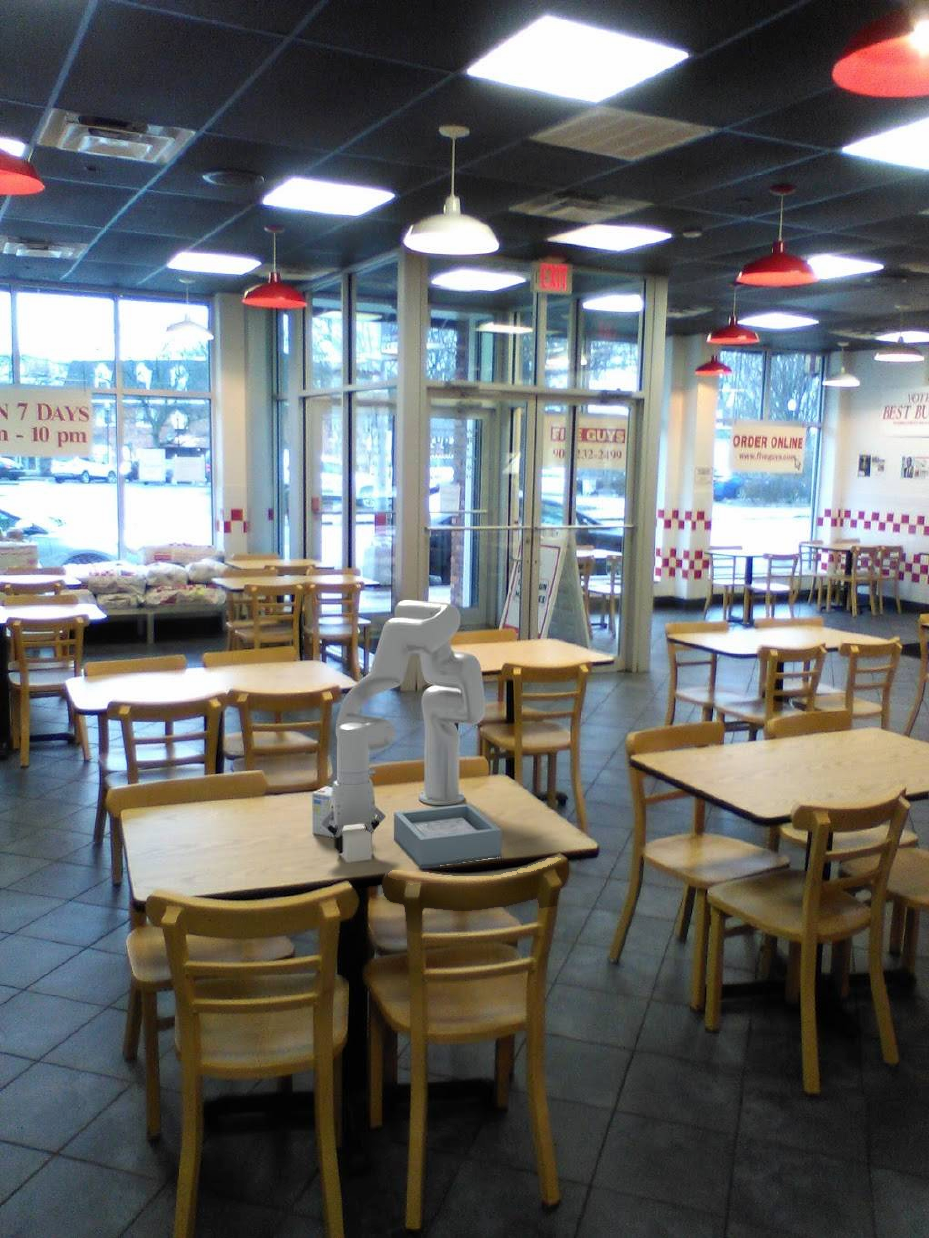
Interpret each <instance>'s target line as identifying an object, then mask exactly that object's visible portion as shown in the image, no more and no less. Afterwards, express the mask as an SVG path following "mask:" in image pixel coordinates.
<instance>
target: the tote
mask: <svg viewBox="0 0 929 1238" xmlns="http://www.w3.org/2000/svg"><path fill="white" fill-rule="evenodd" d="M461 817H462V818H463V819H464V820H466V821H467V822H468V823H469V824H470V825H471V826H472V827H474V828H475V829H476V830H477V831H469V832H461V833H452V834H444V835H436V836H428V837H425V836H424V835H423V834H422V833H421V832H420V831H419V830H418V829H417V828H416V827H415V826H414V825H413V824H412V823H418V822H426V821H435V820H443V819H452V818H461ZM393 840H394V841H395V843H396V844H397V845H398V846H399V847H400V848H401V850H402V851H403V852H405V854H406V855H407V856H408V857H409V858H410V859H411V860H412V861H413V862H414V863H415V865H416V866H417V867H418V869H420V870H424V869H423V868H425V869H431V867H432V868H437V867H436V866H440V865H447V864H449V865H447V866H451V865H450V864H455V865H459V864H458V863H463V862H469V861H476V860H482V859H488V858H497V857H498V858H499V857H501V858H502V829H501V828H500V827H499V826H497V825H496V824H495V823H494V822H493V821H491V820H490V819H489V818H488V817H487V816H486V815H484V814H483V813H482V812H480V811H479V810H478V809H477V808H475V807H474V806H473V805H472V804H471V803H466V804H456V805H455V804H454V805H445V806H440V807H431V808H429V807H428V808H421V809H410V810H403V811H402V810H401V811H394V812H393ZM463 864H464V863H463ZM440 867H441V866H440Z"/></svg>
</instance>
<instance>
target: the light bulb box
mask: <svg viewBox="0 0 929 1238" xmlns="http://www.w3.org/2000/svg"><path fill="white" fill-rule="evenodd" d="M332 788H333V786H332V787H331V786H328V785H325V786H323V787H321V788H320V789H317V790H316V791H315V790H314V791H313V792H312V793H311V797H312V799H311V800H312V807H311V809H312V810H311V811H312V834H313V835H314V834H316V835H320V836H325V837H330V838H334V835H333V834H332V833H331V832H330V831H329V830H328V829H327V828H325V827H324V826H323V825H322V824H321V820H322V819H323V818H324V817H325V815H326V814H327V813H328V812H329V811H330V805H331V794H332ZM329 824H331V825H332V826H333V827H334V826H335V823H334V820H330V821H329Z"/></svg>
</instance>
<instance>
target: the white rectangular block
mask: <svg viewBox="0 0 929 1238" xmlns="http://www.w3.org/2000/svg"><path fill="white" fill-rule="evenodd" d="M341 836H342V853H340V854H339V852H338V851H337V850H336V849H335V848H334V850H335V851H336V852H337V853H338V854H339V855H340V857H341V858H342V859H343V860H344V862H346V863H353V862H361V861H368V860H372V856H373V855H372V851H373V850H372V845H373V833H372V834H371V833H370V832H369V831H368V830H367V829H366V827H365V825H363V824H355V825H346V826H344V827H343V830H342V832H341Z"/></svg>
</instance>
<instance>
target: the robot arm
mask: <svg viewBox="0 0 929 1238" xmlns="http://www.w3.org/2000/svg"><path fill="white" fill-rule="evenodd" d="M460 625H461V613H460V611H459V608H457V606H456V605H454V604H452V603H448V602H437V601H426V600H416V599H405V600H401V601H399V602H398V603H397V604H396V606H395V609H394V617H393V618H390V619H388V620H387V621H386V622H385V623H384V625H383V627H382V631H381V633H380V638H379V640H378V644H377V646H376V647H377V648H376V650H375V654H374V657H373V660H372V663H371V667H370V670H369V672H368V673H367V674H366V675H365V676H364V677H362V679H360V680H359V681H358V682H357V683H355V685H354V686H353V687H351V689H350V690H349V691H348V693H347V694H346V695H345V697H344V698H343V700H342V702H341V705H340V710H339V713H338V715H337V718H336V724H335V736H336V780H334V781H333V784H332V787H333V788H332V794H331V805H330V811H329V812H328V813H327V814H326V815H325V817H324V818H323V819H322V820H321V824H322V825H323V826H324V827H325V828H327V829H328V830H329V831H330V832H331V833H332V834H333V835H334V837H333V838H334V839H333V842H334V843H333V848H334V850H335V849H336V850H337V851H338V852H339V853H338V852H337V851H336V850H335V851H336V852H337V853H338V854H339V855H340V853H342V836H341V832H342V830H343V827H344V826H346V825H355V824H361V825H363V826H364V827H365V828H366V829H367V830H368V831H369V832H370V833H371V834H372V835H373V833H374V832H375V830H376V829H377V828H378V827H379V825H380V824H381V823H382V822H383V820H384V819H385V818H386V815H385V813H383V811H381V810H380V809H379V808H378V807H377V806H376V799H375V798H376V797H375V789H374V784H373V780H372V779H371V777H372V776H375V775H376V770H375V769H372V768H370V753H371V752H375V751H382V750H384V749H386V748H388V747H389V746H391V744H392V743H393V742H394V739H395V736H396V728H395V726H394V724H393V723H392V722H391V721H390V720H388V719H386V718H382V717H377V716H376V717H375V716H370V715H364V714H359V713H360V710H361V708H362V707H363V705H364V704H365V703H366V702H367V701H369V700H370V699H371V698H373V697H374V696H376V695H378V694H381V693H383V692H386V691H390V690H392V689H395V688H397V687H399V686H401V685H402V684H403V683H404V681H405V676H406V674H407V673H406V672H407V670H408V666H409V662H410V659H411V656H412V654H419V659H420V666H421V672H422V673H421V674H422V676H423V679H424V681H425V682H426V683H428V685H432V686H429V687H428V688H426V689H425V690H424V692H423V693H422V696H421V710H422V715H423V722H424V784H423V787H424V789H423V790H421V791H420V792H419V793H418V799H419V801H421V802H422V803H425V804H428V805H433V806H452V805H455V804H456V805H457V804H459V803H461V802H463V801H464V799H465V793H464V792H463V791H461V790H459V789H460V744H461V743H460V741H461V740H460V739H461V738H460V734H459V731H458V727H457V726H456V724H461V725H477V724H479V723H481V721H483V719H484V716H485V713H486V697H485V690H484V689H485V687H484V680H483V673H482V667H481V663H480V661H479V659H478V658H477V657H476V656H475V655H473V654H471V653H467V652H460V651H454V650H453V649H452V645H451V638H453V637H454V636H455V634H456V633H457V632H458V630H459V628H460ZM455 723H456V724H455ZM330 820H334V823H335V826H334V827H333V826H332V825H331V824H329V821H330Z"/></svg>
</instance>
